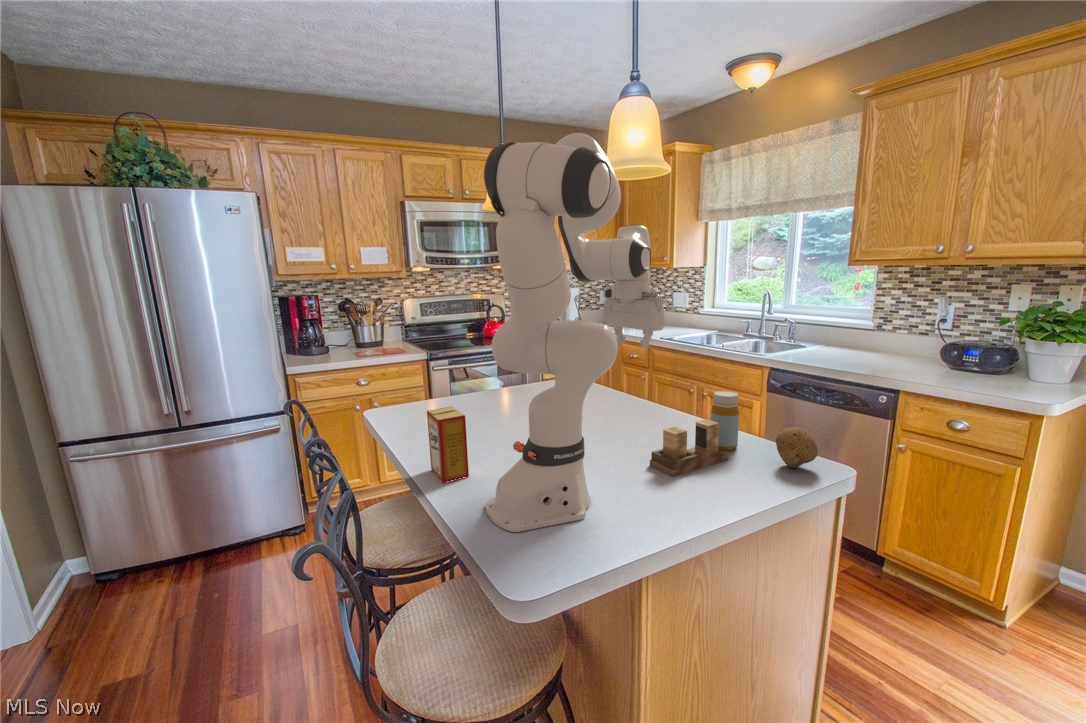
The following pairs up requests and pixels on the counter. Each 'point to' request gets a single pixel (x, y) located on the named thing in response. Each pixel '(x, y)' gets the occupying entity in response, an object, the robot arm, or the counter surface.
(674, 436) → the block
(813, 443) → the natural sponge
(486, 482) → the counter surface
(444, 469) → the baking soda box
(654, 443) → the counter surface
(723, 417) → the bottle
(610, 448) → the counter surface
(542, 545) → the counter surface
